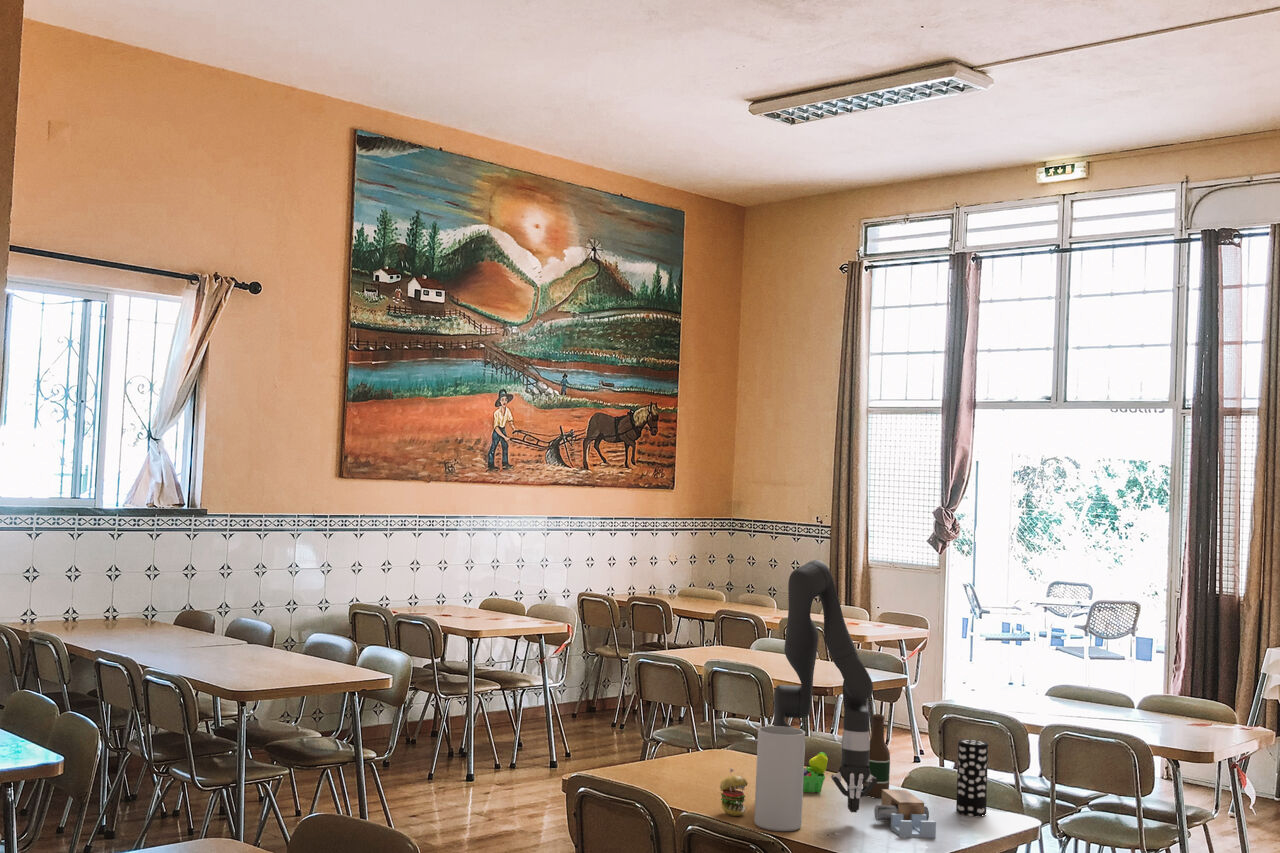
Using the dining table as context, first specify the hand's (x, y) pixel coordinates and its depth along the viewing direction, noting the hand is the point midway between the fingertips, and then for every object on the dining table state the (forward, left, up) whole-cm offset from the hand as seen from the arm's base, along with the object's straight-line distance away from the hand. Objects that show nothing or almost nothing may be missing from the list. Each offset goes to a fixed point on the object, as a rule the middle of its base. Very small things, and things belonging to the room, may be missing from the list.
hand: (853, 811), depth 313 cm
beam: (+15, +4, -3) cm, 16 cm away
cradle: (+14, -8, -3) cm, 16 cm away
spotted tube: (+40, +15, -4) cm, 43 cm away
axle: (+14, +1, -2) cm, 14 cm away
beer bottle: (+17, +33, -4) cm, 37 cm away
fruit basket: (-1, +39, -4) cm, 39 cm away
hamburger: (-32, +8, -4) cm, 33 cm away
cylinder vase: (-22, -3, -4) cm, 22 cm away
